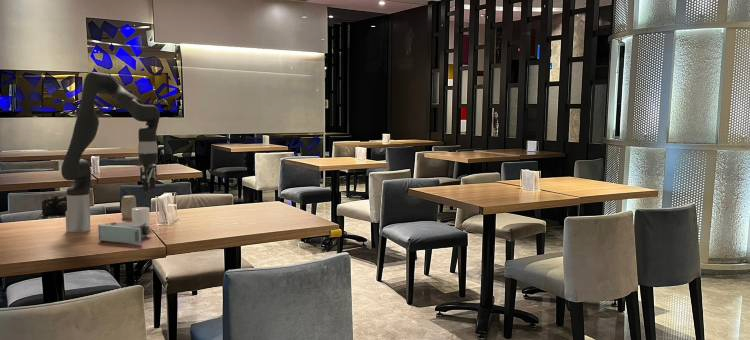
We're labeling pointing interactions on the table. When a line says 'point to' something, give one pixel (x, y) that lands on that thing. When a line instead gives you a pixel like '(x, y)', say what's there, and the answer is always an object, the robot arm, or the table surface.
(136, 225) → the camera housing
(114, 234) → the side door
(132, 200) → the carving
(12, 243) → the table surface
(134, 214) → the white cup
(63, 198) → the film camera
